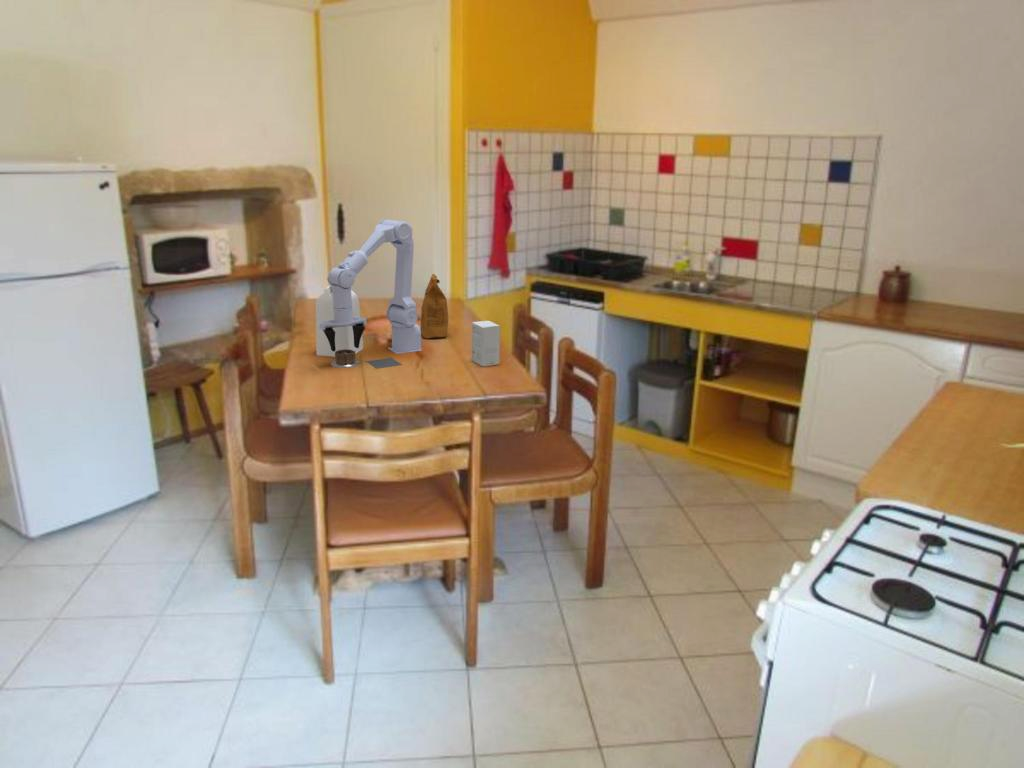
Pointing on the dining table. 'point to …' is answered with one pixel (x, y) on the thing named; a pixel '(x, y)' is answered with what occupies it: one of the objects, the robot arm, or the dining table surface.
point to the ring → (345, 357)
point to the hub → (345, 365)
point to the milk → (342, 334)
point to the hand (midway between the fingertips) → (345, 348)
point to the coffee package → (434, 311)
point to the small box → (485, 343)
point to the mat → (383, 363)
